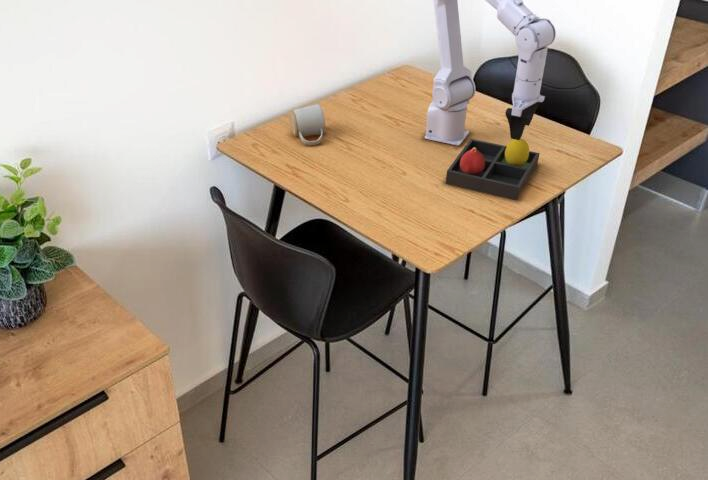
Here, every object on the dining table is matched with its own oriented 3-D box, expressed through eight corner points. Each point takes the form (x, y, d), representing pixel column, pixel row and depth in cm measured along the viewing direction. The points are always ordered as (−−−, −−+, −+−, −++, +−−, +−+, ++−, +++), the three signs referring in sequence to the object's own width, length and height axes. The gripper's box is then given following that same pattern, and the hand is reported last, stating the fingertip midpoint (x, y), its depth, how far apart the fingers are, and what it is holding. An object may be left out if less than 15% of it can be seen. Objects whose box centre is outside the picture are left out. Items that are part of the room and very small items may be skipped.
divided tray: (445, 183, 181) (446, 170, 179) (469, 150, 192) (470, 138, 190) (517, 200, 174) (519, 187, 172) (537, 165, 186) (539, 153, 184)
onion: (455, 171, 184) (458, 142, 179) (479, 169, 184) (483, 140, 179) (461, 184, 179) (465, 154, 174) (486, 182, 180) (490, 152, 175)
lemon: (526, 174, 181) (532, 144, 176) (502, 172, 182) (507, 142, 177) (526, 162, 186) (531, 133, 181) (502, 161, 187) (507, 131, 182)
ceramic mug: (289, 129, 204) (287, 103, 200) (318, 125, 206) (317, 98, 201) (299, 149, 197) (298, 122, 192) (329, 144, 198) (329, 117, 193)
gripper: (538, 92, 163) (528, 149, 171) (555, 66, 173) (545, 121, 181) (505, 86, 166) (497, 142, 174) (524, 61, 175) (516, 115, 184)
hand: (520, 131), depth 178 cm, fingers open, 7 cm apart
